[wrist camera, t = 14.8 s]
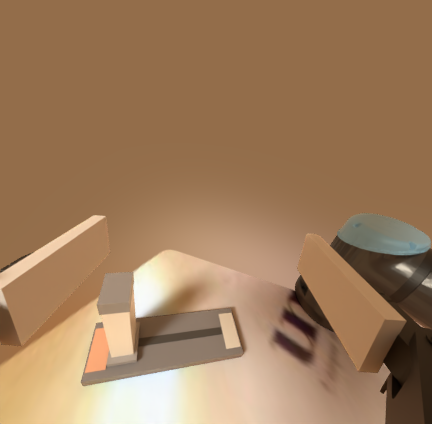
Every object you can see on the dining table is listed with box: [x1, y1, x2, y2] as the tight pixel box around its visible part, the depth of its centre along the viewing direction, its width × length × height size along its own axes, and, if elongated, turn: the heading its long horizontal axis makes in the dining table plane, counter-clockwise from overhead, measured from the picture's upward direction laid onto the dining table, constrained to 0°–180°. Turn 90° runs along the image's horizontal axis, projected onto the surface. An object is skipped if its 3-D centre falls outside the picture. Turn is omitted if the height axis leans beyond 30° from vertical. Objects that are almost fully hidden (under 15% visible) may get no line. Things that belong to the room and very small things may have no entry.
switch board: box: [81, 308, 243, 386], centre depth 34 cm, size 24×8×2 cm, turn 102°
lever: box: [97, 272, 140, 367], centre depth 28 cm, size 4×6×14 cm
